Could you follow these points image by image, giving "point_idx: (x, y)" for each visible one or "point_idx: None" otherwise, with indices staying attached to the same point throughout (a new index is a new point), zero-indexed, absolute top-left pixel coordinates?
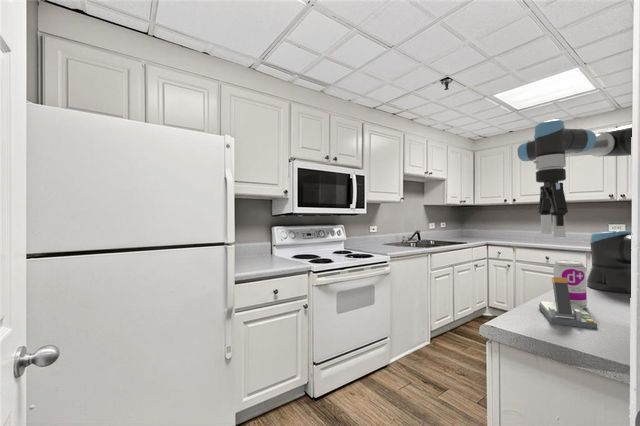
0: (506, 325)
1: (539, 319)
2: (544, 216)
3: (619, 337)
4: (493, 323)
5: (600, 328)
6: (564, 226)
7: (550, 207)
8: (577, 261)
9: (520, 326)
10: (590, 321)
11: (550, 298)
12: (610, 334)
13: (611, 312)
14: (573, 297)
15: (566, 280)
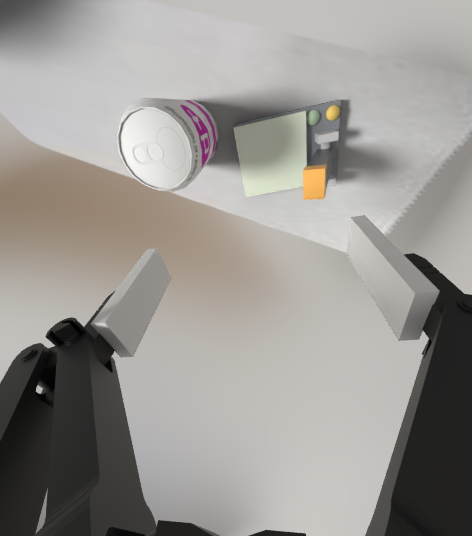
0: None
1: None
2: (130, 337)
3: (379, 63)
4: None
5: (332, 93)
6: (389, 245)
7: (91, 380)
8: (122, 121)
9: None
10: (339, 112)
11: None
12: (365, 78)
13: (195, 43)
14: (214, 133)
15: (325, 168)
